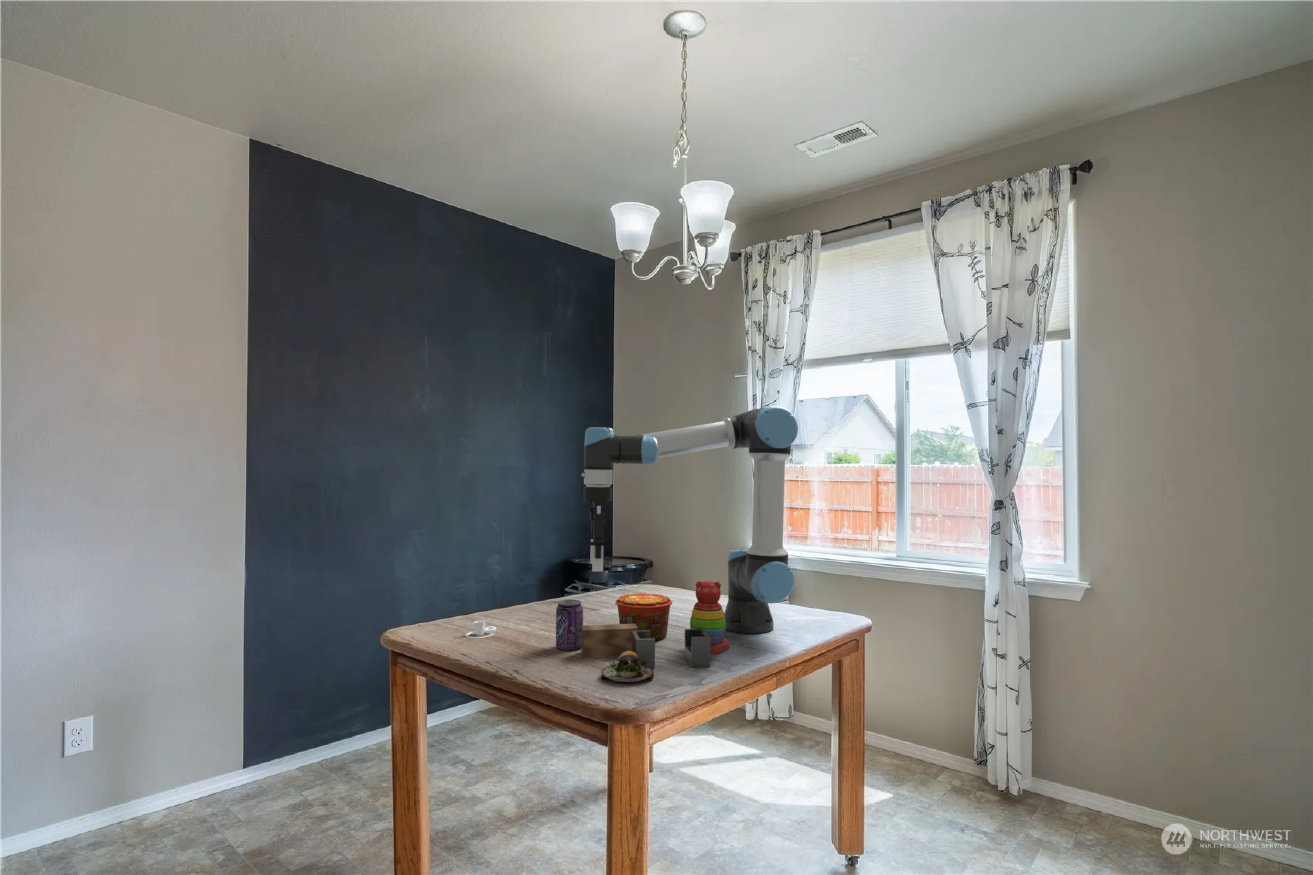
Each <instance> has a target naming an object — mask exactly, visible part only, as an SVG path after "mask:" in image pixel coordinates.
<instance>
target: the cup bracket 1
mask: <svg viewBox="0 0 1313 875" xmlns="http://www.w3.org/2000/svg"><path fill="white" fill-rule="evenodd" d="M632 652H634V653H636V654H637V656H638V660H637V662H640V663H641V665H643V666H646V667H649V668H651V669H652V670H655V669H656V641H655V639H654V638H650V630H638V631H632Z"/></svg>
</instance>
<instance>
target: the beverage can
mask: <svg viewBox="0 0 1313 875" xmlns="http://www.w3.org/2000/svg"><path fill="white" fill-rule="evenodd" d="M557 604H558V605H557V607H556V609H555V646H556V647H557V648H558V649H560V650H562V651H574V650H578V649H579V648H581V643H582V626H584V607H583V604H582V601H581V600H578V599H562V600H559V601H558V602H557Z"/></svg>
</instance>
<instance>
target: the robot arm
mask: <svg viewBox="0 0 1313 875" xmlns="http://www.w3.org/2000/svg"><path fill="white" fill-rule="evenodd" d="M798 432H799V427H798V422H797V419H796V417H795V415H794V414H793V413H792V412H791V411H790V410H789V409H787V408H785V407H783V406H779V405H776V406H775V405H769V406H768V405H767V406H764V407H759V408H754V409H751V410H748V411H746V412H742V413H739V414H736V415H732V416H725V417H724V418H723V419H722V420H721V421H718V422H717V421H715V422H711V423H704V424H699V425H691V426H687V427H681V428H674V429H667V430H663V431H656V432H649V433H643V434H638V435H637V434H636V435H615V434H614V433H615V432H614V429H613V428H612V427H602V426H601V427H600V426H598V427H597V426H595V427H594V426H591V427H588V428H586V429H585V432H584V443H583V447H584V448H583V451H584V452H583V459H584V460H583V470H584V471H583V472H581V477H582V478H583V484H584V485H585V486H584V487H583V494H582V495H583V496H582V497H583V499H582V500H583V501H585V502H592V503H591V505H590V506H591V507H589V515H590V516H589V521H590V533H589V534H590V543H589V544H590V552H589V554H590V556H589V557H590V558H589V561H590V562H589V563H590V564H591V566H592V567H591V572H604V544H605V540H604V539H605V538H604V536H605V535H604V531H605V530H604V525H605V522H606V519H605V516H606V508H605V507H604V505H603V502H611V501H612V500H613V488H612V487H611V485H613V481H614V480H613V479H614V478H613V475H614V472H613V471H614V470H613V464H617V465H619V464H621V465H628V464H629V465H644V466H645V465H654V464H655V463H656V462H657V460H658V459H661V458H666V457H673V456H678V455H684V454H686V455H687V454H689V453H690V454H691V453H696V452H702V451H709V450H713V449H719V448H720V449H722V448H725V447H726V448H727V449H728V450H734V449H744V448H746V449H748V455H749V456H750V457H751V458H752V459H753V483H752V484H753V485H752V486H753V487H752V488H753V489H752V491H753V492H752V522H751V523H752V525H751V526H752V527H751V528H752V529H751V546H750V547H749V548H747V549H743V550H742V549H735V550H730V551H729V552H728V555H727V556H728V558H727V593H728V594H727V597H728V598H727V603H726V606H725V609H724V617H725V621H726V625H725V626H726V629H725V631H726V630H727V631H730V632H733V633H740V634H741V633H742V634H761V633H762V634H763V633H769V632H771V631H773V630H774V618H773V615H772V612H771V609H770V606H769V604H777V603H781V602H782V601H784V600H786V599H787V597H789V596H790V594H791V593H792V591H793V588H794V585H795V576H794V573H793V571H792V569H791V567H789V552H788V551H787V550H786V548H785V547H784V517H785V516H784V515H785V514H784V513H785V508H784V507H785V506H784V505H785V476H786V475H785V474H786V473H785V471H786V470H785V467H786V461H787V459H789V457H791V455H792V453H791V452H792V444H793V443H794V442H795V440H796V438H797V436H798V434H799V433H798Z"/></svg>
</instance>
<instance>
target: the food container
mask: <svg viewBox="0 0 1313 875" xmlns="http://www.w3.org/2000/svg"><path fill="white" fill-rule="evenodd" d="M615 605H617V613H618V622H619V623H618V624H636V625H637V627H638V630H650V638H654V639H655V642H658V641H662V640H664V639H666V638H667V634H668V626H669V618H670V617H669V616H670V609H671V606H672V605H673V600H671V598H670V597H669V596H667V595H663V594H658V593H657V594H656V593H645V592H644V593H642V592H640V593H633V594H629V593H628V594H627V593H626V594H622V595H620V596H619V597H618V598H617V599H615Z"/></svg>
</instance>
